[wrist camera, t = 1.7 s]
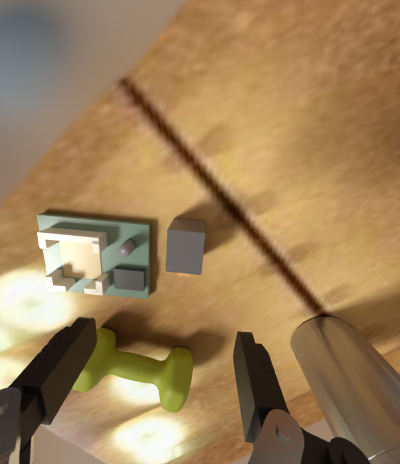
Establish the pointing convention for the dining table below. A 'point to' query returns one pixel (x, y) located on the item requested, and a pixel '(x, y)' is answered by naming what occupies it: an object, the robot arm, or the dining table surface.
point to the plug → (185, 246)
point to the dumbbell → (139, 370)
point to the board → (96, 255)
